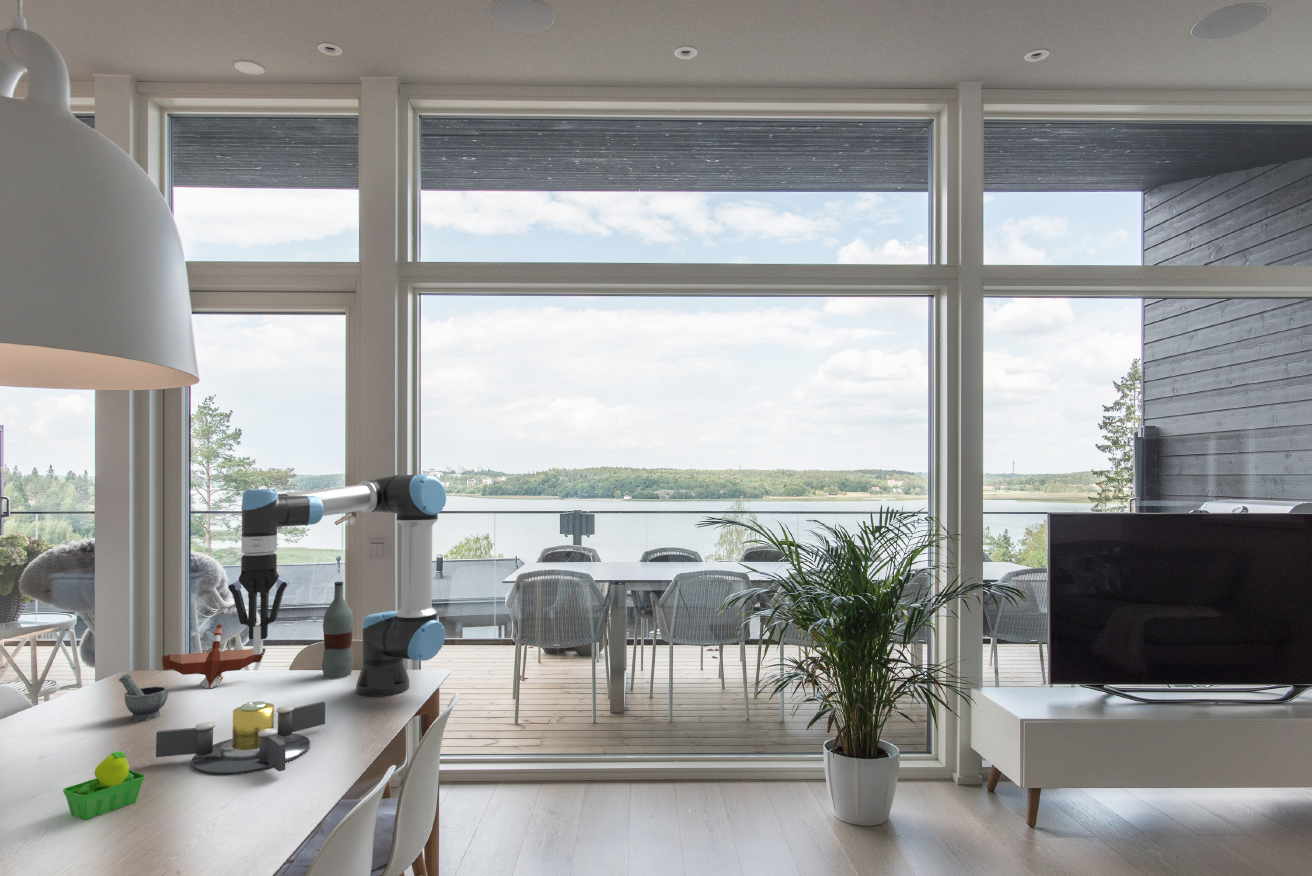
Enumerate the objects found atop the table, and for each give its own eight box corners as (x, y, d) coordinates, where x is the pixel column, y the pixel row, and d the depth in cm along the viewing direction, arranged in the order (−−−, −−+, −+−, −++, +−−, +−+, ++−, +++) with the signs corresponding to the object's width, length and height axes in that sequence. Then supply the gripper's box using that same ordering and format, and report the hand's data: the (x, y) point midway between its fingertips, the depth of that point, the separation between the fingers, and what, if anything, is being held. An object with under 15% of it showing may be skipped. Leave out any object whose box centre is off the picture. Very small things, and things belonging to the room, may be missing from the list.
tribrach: (318, 732, 188) (318, 683, 189) (298, 768, 165) (299, 712, 166) (211, 741, 182) (212, 691, 183) (175, 780, 159) (176, 722, 159)
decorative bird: (270, 659, 250) (268, 620, 246) (262, 694, 234) (260, 654, 229) (171, 667, 241) (168, 627, 236) (156, 704, 224) (151, 662, 220)
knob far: (216, 749, 173) (217, 721, 174) (211, 755, 170) (211, 726, 170) (160, 754, 170) (160, 726, 171) (153, 760, 167) (154, 731, 167)
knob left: (255, 760, 166) (255, 731, 167) (273, 755, 169) (273, 727, 169) (272, 774, 158) (273, 744, 159) (291, 769, 161) (292, 739, 161)
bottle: (350, 669, 249) (351, 579, 251) (355, 676, 242) (356, 582, 243) (319, 674, 245) (321, 581, 246) (324, 680, 237) (325, 584, 238)
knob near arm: (279, 738, 180) (280, 711, 181) (273, 734, 183) (274, 708, 183) (327, 726, 189) (327, 700, 189) (320, 722, 192) (321, 697, 192)
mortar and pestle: (171, 709, 208) (172, 666, 208) (163, 719, 199) (164, 674, 200) (122, 715, 203) (123, 670, 204) (112, 725, 195) (114, 678, 195)
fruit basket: (125, 793, 152) (126, 737, 153) (150, 802, 148) (151, 744, 149) (59, 816, 142) (61, 755, 143) (84, 826, 138) (86, 763, 139)
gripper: (224, 556, 174) (222, 659, 173) (285, 554, 177) (284, 654, 176) (233, 553, 181) (231, 651, 180) (292, 550, 184) (291, 647, 183)
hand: (257, 653), depth 178 cm, fingers closed
